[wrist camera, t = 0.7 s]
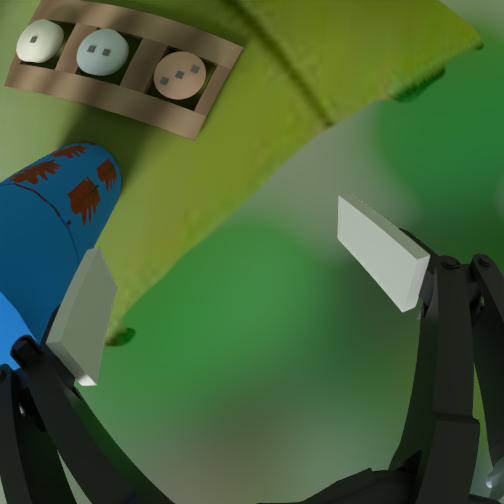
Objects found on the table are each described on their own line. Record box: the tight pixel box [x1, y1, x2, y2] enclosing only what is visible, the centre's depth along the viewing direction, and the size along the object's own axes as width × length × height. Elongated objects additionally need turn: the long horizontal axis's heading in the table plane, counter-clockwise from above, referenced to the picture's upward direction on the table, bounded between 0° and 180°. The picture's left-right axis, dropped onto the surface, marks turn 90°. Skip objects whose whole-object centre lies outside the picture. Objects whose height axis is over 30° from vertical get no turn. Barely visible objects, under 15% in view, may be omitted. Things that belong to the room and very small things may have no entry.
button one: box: [17, 19, 64, 63], centre depth 16 cm, size 5×5×3 cm
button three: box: [154, 52, 206, 99], centre depth 23 cm, size 5×5×3 cm
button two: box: [77, 29, 129, 76], centre depth 19 cm, size 5×5×3 cm
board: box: [4, 0, 243, 141], centre depth 22 cm, size 27×12×2 cm, turn 63°
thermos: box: [0, 142, 122, 370], centre depth 19 cm, size 11×11×25 cm
